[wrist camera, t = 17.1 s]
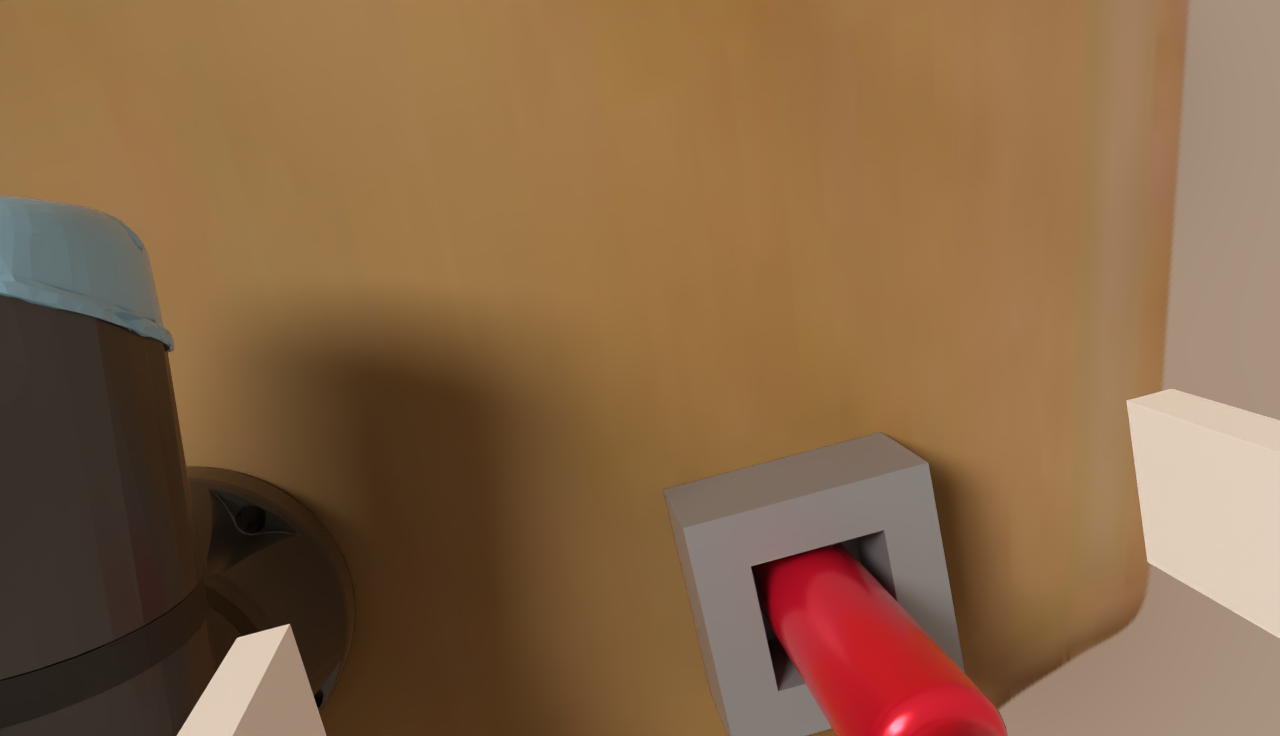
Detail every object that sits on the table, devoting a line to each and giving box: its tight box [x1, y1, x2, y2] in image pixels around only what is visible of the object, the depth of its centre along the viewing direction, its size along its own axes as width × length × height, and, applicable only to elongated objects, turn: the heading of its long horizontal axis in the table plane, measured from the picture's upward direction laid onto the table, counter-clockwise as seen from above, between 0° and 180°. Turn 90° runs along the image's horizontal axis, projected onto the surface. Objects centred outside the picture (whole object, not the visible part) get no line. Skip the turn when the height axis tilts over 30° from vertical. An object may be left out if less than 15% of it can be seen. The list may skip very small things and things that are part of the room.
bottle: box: [751, 542, 1007, 736], centre depth 42 cm, size 6×5×20 cm
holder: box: [663, 432, 965, 736], centre depth 50 cm, size 12×12×6 cm
